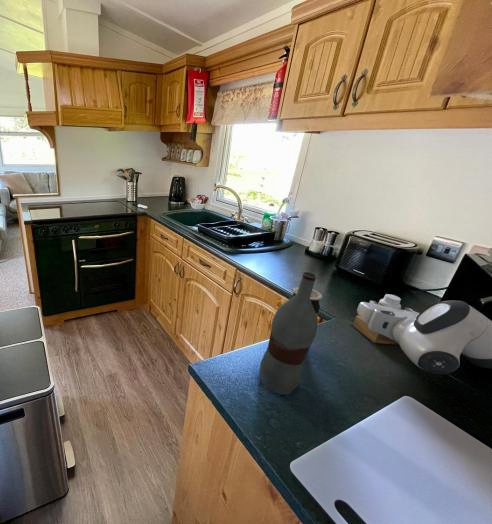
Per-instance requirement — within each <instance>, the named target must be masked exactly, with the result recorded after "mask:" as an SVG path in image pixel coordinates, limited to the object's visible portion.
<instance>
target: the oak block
mask: <svg viewBox="0 0 492 524" xmlns="http://www.w3.org/2000/svg"><path fill="white" fill-rule="evenodd" d="M368 325H369V324H367V323H365V322H364V321H363V320H362V319H361V317H360V316H359V315H356V316H355V319H354V320H353V323H352V326H353V327H354V328H355V329H356V330H358V331H359V332H360V333H361V334H363V335H364V336H366V338H368V339H369V340H370V341H371V342H372V343H374V344H386V345H387V344H388V345H399V344H398V343H397V342H396V341H394V340H392V339H390V338H388V337H386V336H384V335H382V334H379V333H376V332H374V331H371V330H370V329H369V328H368Z"/></svg>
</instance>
